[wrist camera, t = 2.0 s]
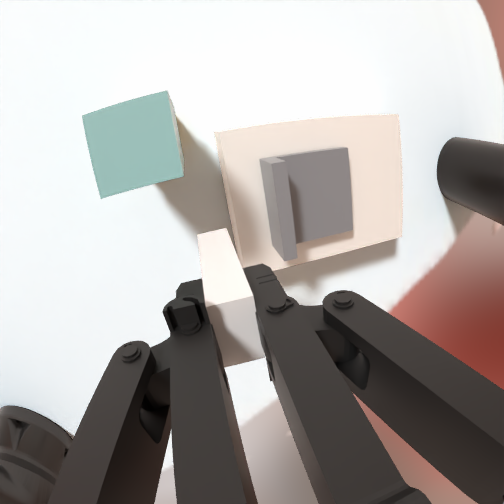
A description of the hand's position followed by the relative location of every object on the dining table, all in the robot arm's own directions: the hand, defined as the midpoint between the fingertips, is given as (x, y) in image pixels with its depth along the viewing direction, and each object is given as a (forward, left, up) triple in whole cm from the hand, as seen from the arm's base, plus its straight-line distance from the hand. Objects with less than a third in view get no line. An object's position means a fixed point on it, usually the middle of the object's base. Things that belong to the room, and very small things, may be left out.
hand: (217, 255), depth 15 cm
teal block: (0, +7, -12) cm, 14 cm away
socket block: (+9, -4, -12) cm, 16 cm away
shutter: (+7, -4, -8) cm, 11 cm away
